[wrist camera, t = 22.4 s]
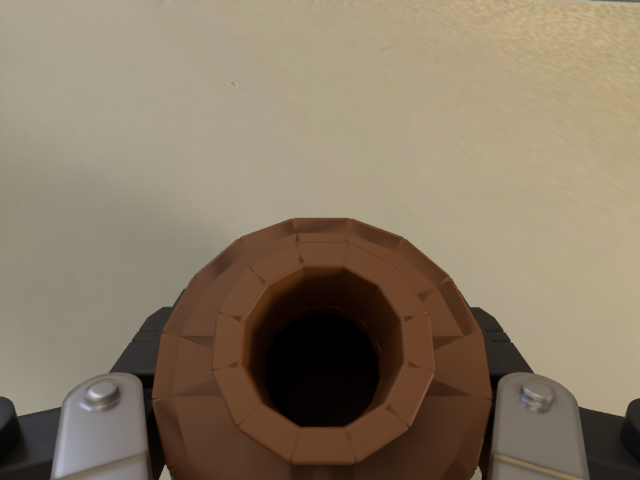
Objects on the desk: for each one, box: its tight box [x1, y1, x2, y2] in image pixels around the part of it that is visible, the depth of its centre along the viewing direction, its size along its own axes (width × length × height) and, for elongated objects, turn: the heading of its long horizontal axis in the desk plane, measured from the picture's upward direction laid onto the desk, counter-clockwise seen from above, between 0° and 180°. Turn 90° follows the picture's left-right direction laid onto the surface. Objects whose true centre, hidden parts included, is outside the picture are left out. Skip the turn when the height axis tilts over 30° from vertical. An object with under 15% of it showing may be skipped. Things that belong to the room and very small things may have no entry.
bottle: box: [152, 218, 493, 480], centre depth 11 cm, size 6×6×11 cm
